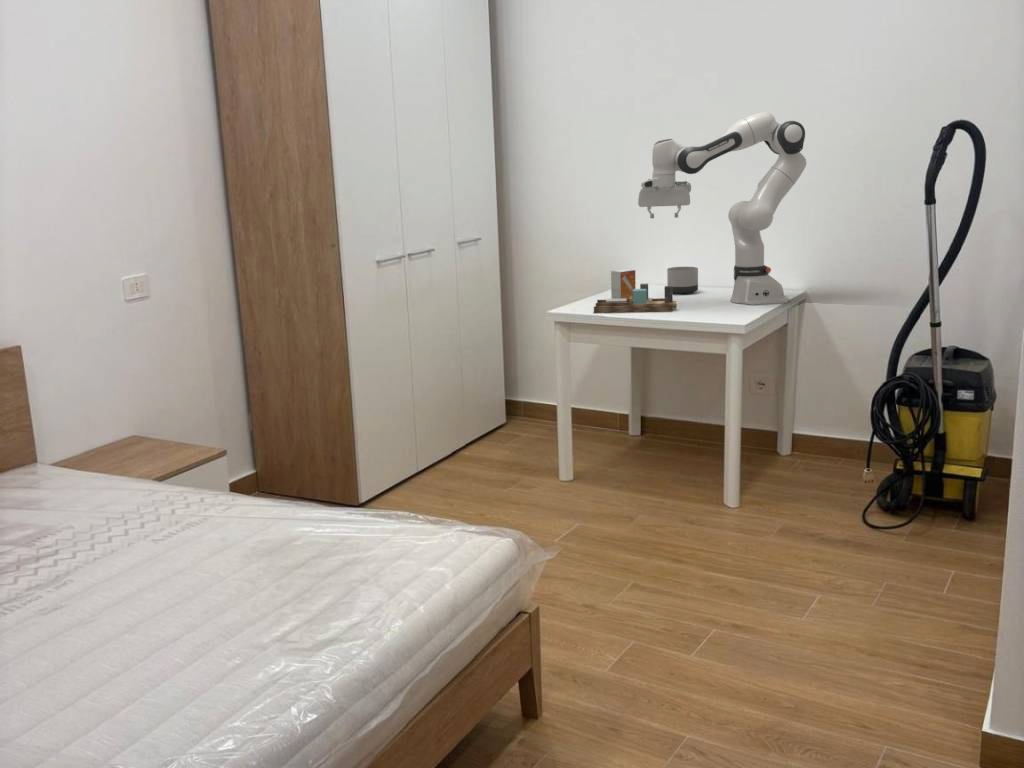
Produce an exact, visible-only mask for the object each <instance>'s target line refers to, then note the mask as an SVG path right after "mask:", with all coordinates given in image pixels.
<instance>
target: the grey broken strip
mask: <svg viewBox="0 0 1024 768" xmlns="http://www.w3.org/2000/svg"><path fill="white" fill-rule="evenodd" d="M639 286H640V287H639V289H647V301H652V299H653V297H649V283H640V285H639ZM605 300H606V303H624V302H627V298H623V299H612V298H607V299H605Z"/></svg>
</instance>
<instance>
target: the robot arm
mask: <svg viewBox="0 0 1024 768" xmlns="http://www.w3.org/2000/svg"><path fill="white" fill-rule="evenodd" d="M805 139H806V130H805V127H804V125H803V124H802V123H800V122H799V121H796V120H787V121H784V122H783V123H781V124H780V123H778V121H777V120H776V118H775V116H774V115H773V114H772V113H771V112H769V111H761V112H757V113H754V114H751V115H749V116H746V117H743V118H741V119H739V120H737V121H735V122H733V123H732V124H731V125H729V126H727V128H726V130H725V132H724V134H722V136H720V137H719V138H716V139H714V140H713V141H711V142H708V143H706V144H703V145H701V146H686V145H683V144H681V143H679V142H677V141H676V140H674V139H673V138H667V139H661V140H658V141H657V142H655V143H654V145H653V148H652V154H651V156H652V167H653V171H652V178H649V179H646V180H645V181H642V182H641V184H640V187H641V188H640V191H639V193H638V200H637V204H638V206H639V208H646V207H647V210H646V211H648V214H649V218H650V219H655V213H652V211H651V210H652V208H653V207H654V208H655V207H675V206H676V207H677V211H676V212H674V218H675V219H676V218H679V213H680V212H681V209H682V206H683V207H684V206H689V205H690V204H691V196H690V193H691V190H692V185H691V183H690V182H689V181H687V180H685V181H676V172H678V171H679V172H681V173H685V174H688V175H694V174H695V175H696V174H697V173H700V171H701V170H703V169H704V167H705V166H706V165H707V164H708V163H709V162H711V161H713V160H715V159H717V158H719V157H721V156H723V155H726V154H727V153H731V152H736V151H741V150H744V149H747V148H750V147H753V146H754V145H757V144H759V143H761V142H764V143H765V144H766V146H768V149H770V151H771V152H772V153H773V154H776V155H778V158H777V160H776V161H775V163H774V164H773V165H772V166H771V167H770V169H769V170H768V171H767V172H766V173H765V175H764V176H763V177H762V178H761V180H760V181H759V182H758V184H757V187H756V190H755V193H754V194H753V196H752V198H751V199H750V200H749V201H747V200H742V201H739V202H736V203H734V204H733V205H732V206H731V207H730V208H729V210H728V216H727V217H728V220H729V222H730V224H731V231H732V235H733V240H734V241H733V242H734V247H735V249H734V251H735V252H734V253H735V254H734V259H735V260H734V261H735V262H734V266H733V280H734V282H733V290H732V296H731V299H730V301H731V302H732V303H737V304H744V305H753V306H754V305H768V304H769V305H770V304H786V303H789V302H790V298H789V296H788V295H785V294H784V288H783V285H782V284H781V283H780V282H779V281H778V280H776V278H774V277H772V276H771V275H770V273H771V271H772V268H771V267H768V266H767V265H765V244H764V242H763V240H762V236H761V231H764V230H766V229H768V228H769V227H770V226H771V225H772V223H773V219H774V214H775V213H776V211H777V209H778V206H780V204H781V202H782V200H783V199H784V198H785V196H786V195H787V194H788V193H789V192H790V190H791V189H792V188H793V187H794V185H795V184H796V183H797V182H798V180H799V178H800V177H801V175H803V174H802V173H804V171H805V169H806V166H807V159H806V157H805V155H803V154H802V153H801V152H802V150H803V148H804V143H805Z"/></svg>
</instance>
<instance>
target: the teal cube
mask: <svg viewBox="0 0 1024 768" xmlns="http://www.w3.org/2000/svg"><path fill="white" fill-rule="evenodd" d="M646 302H647V289H640V288H636V289H633V304H646Z"/></svg>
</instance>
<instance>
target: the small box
mask: <svg viewBox="0 0 1024 768" xmlns="http://www.w3.org/2000/svg"><path fill="white" fill-rule="evenodd" d="M610 280H611V281H610V283H611V284H610V285H611V286H610V289H611V290H610V291H611V293H610V294H611V295H610V297H611V298H610V299H623V298H627V299H629V298H630V297H631V296H632V297H633V289H637V288H636V269H630V268H621V269H616V270H610Z"/></svg>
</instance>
